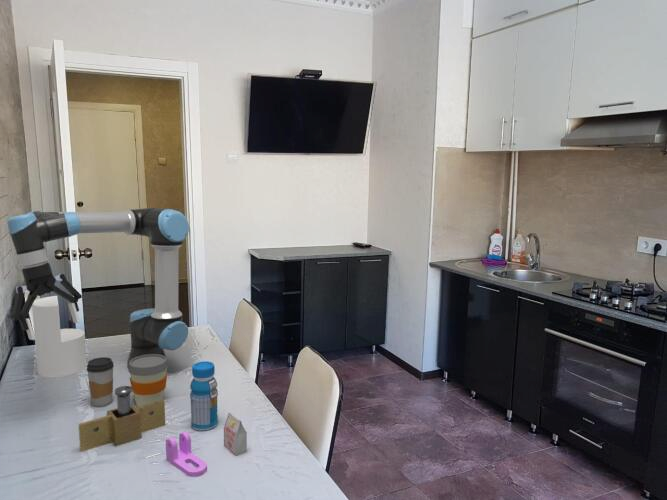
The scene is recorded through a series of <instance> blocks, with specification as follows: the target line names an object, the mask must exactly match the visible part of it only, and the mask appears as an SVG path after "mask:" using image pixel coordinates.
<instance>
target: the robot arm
mask: <svg viewBox="0 0 667 500" xmlns="http://www.w3.org/2000/svg"><path fill="white" fill-rule="evenodd" d="M6 222H7V228H8V233H9V235H10V239H11V241H12V244H13V247H14V249H15V253H16V257H17V259H18V262H19V265H20V267H21V268H22V270H21V273H22V275H23V279H24V282H25V285H21V286H19V285H18V286H15V287H14V292H15V293H14V294H15V297H14V301H13V307H12V309H11V311H12V312H11V316H10V319H11V320H12V321H18V322H19V323H20V327H21V329H22V331H26V333H27V337H28V339H29V340H31V341H35V339H36V338H35V335H34V328H33V327H32V324H31V319H30V318H27V316H29V313H30V311H31V309H32V304H33V302H34V301H35V300H37V299H38V296H44V295H45V294H50V293H51V292H53V293H55V294H57V296H59V297H62V298H63V299H65V300H66V301H68V302H69V303H67V305H68V308H69V312H70V315H71V318H72V322H73V323H74V324H78V323H80V322H81V320H80V318H79V314H78V312H80V309H79V305H78V301H79V300H80V299H82V298H83V297H82V294H81V293H80V292H79V291H78V290H77V289H76V288H75V287H74V286H73V285H72V284H71V283H70V282H69V281H68V279H67V277H66V275H65V274H64V273H58V274H57V275H56V276H54V275H53V270H52V266H51V264H50V263H49V258H48V254H47V251H46V247H45V244H44V243H47V242H51V241H56V240H60V239H64V238H65V239H66V238H70V237H73V236H76V235H79V234H103V233H104V234H105V233H106V234H107V233H110V234H111V233H124V234H126V235H133V236H134V235H136V236H142V237H146V238H147V237H148V238H150V246H151V247H152V248H153V249H154V308H145V309H139V310H135V311H133V312H131V313H130V315H129V325H130V345H131V346H130V347H131V348H130V351H129V353H128V354H129V355H128V358H127V361H126V362H127V369H128V370H129V362H130V360H132V359H133V358H135V357H138V356H142V355H148V354H158V355H163V356H165V357H166V359H168V358H167V355H166V352H165V350H167V351H175V350H177V349H179V348H180V347H181V346H183V345H184V343H185V342H186V341H187V339H188V336H189V328H188V327H189V326H188V325H187V324H186V323H185V322H183V313H182V311H180V309H179V254H180V253H179V249H180V248H181V247H183V245H184V243H183V242H184V240H185V239H186V238H187V236H188V234H189V231H190V226H189V225H190V224H189V221H188V219H187V217H186V216H185V215H184V214H183V213H182V212H181V211H178V210H175V209H171V208H159V207H147V208H146V207H145V208H136V209H134V208H133V209H125V210H124V211H121V212H120V211H118V212H117V211H87V212H86V211H39V210H37V211H36V210H35V211H33V210H32V211H29V212H28V213H26V214H21V215H16V216H10V217H8V219H7V220H6ZM56 282H58V283H60V284H61V285H62V286H63V287H64V288H65V289H66V290H67V291H68V293H67V292H65V291H64V290H63V289H61V288H59V287H58V286H57V285H55V284H56ZM26 290H27V291H28V292H29V293H28V294H27V298H26V300H25V302H24V305H23V306H22V304H23V299H24V294H25V292H26ZM70 294H71V295H70Z"/></svg>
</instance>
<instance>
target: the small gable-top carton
mask: <svg viewBox="0 0 667 500" xmlns="http://www.w3.org/2000/svg"><path fill="white" fill-rule="evenodd" d="M247 434H248V433H247V431H246V428H245V427H244V425H243V423H242V421H241V420H240V419H239V418H238V417H237V416H235V415H234V414H233V413H231V412H228V415H227V418H226V420H225V423H224V425H223V447H224V448H226V449H227V450H228V451H229V452H230V453H232V455H234V456H235V457H237V456H239V455H242V454H244V453H247V452H248V447H247V446H248V439H247V437H248V435H247Z"/></svg>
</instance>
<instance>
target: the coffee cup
mask: <svg viewBox="0 0 667 500" xmlns="http://www.w3.org/2000/svg"><path fill="white" fill-rule="evenodd" d="M114 367H115V366H114V362H113V360H112V358H110V357H105V356H104V357H103V356H101V357H96V358H92V359H91V360H89V361H88V362H87V366H86V372H87V377H88V378H87V379H88V386H89V394H90V398H91V399H90V400H91V404H92V405H93V406H94V407H97V408H101V407H106V406H109V405H110V404H111V403H112V402H113V392H114V390H113V389H114Z"/></svg>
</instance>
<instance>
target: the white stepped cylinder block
mask: <svg viewBox="0 0 667 500" xmlns="http://www.w3.org/2000/svg"><path fill="white" fill-rule="evenodd" d="M58 298H59V297H58V295H52V296H46V297H41V298H37V299H35V300H34V302H33V304H32V307H31V309H32V321H33V332H34V335H35V338H36V339H34V345H35V357H36V372H37V375H38V376H40V377H42V378H49V377H55V378H62V377H69V376H73V375H75V374H78V373H80V372H82V371H83V370H85V369H87V365H88V362H87V348H86V346H87V345H86V333H85V330H83V329H80V328H61V320H60V319H61V318H60V306H59V300H58Z"/></svg>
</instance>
